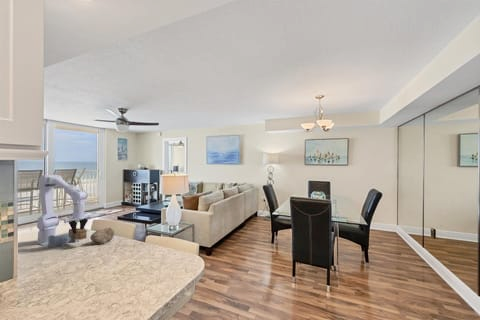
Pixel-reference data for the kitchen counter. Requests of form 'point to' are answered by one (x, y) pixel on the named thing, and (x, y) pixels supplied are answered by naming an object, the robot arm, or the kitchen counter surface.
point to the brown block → (78, 234)
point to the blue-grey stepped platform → (60, 240)
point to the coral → (102, 235)
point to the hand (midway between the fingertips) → (77, 232)
